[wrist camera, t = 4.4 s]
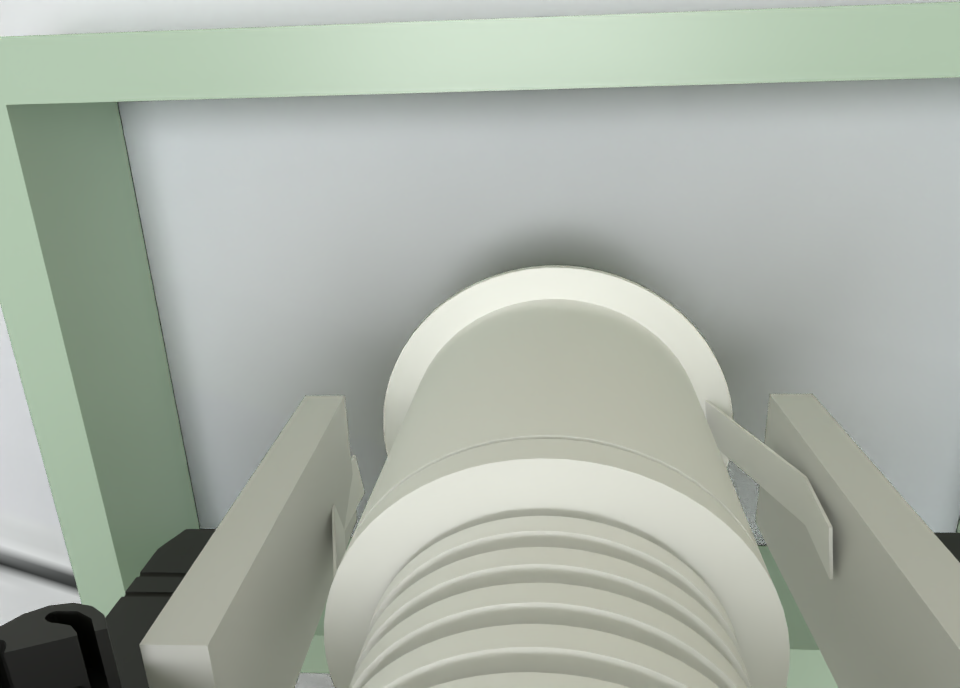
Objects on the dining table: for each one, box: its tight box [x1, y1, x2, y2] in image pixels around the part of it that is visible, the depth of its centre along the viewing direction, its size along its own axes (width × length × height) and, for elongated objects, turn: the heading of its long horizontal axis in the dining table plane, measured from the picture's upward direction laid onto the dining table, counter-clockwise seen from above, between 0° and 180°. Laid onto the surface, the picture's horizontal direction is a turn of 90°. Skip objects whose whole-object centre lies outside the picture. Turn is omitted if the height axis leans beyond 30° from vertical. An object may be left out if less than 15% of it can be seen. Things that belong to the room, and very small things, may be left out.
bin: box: [0, 2, 960, 688], centre depth 18 cm, size 24×15×4 cm, turn 92°
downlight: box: [324, 265, 833, 688], centre depth 11 cm, size 8×7×10 cm
